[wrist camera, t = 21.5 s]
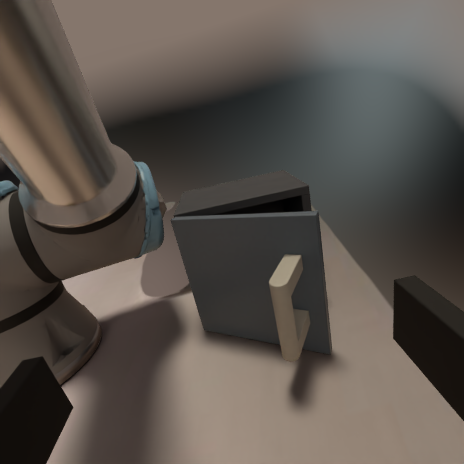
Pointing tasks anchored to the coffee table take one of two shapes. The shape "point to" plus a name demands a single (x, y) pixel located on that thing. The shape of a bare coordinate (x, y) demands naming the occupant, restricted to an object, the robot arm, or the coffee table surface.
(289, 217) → the grey cabinet door
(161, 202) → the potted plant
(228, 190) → the grey box
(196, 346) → the coffee table surface
